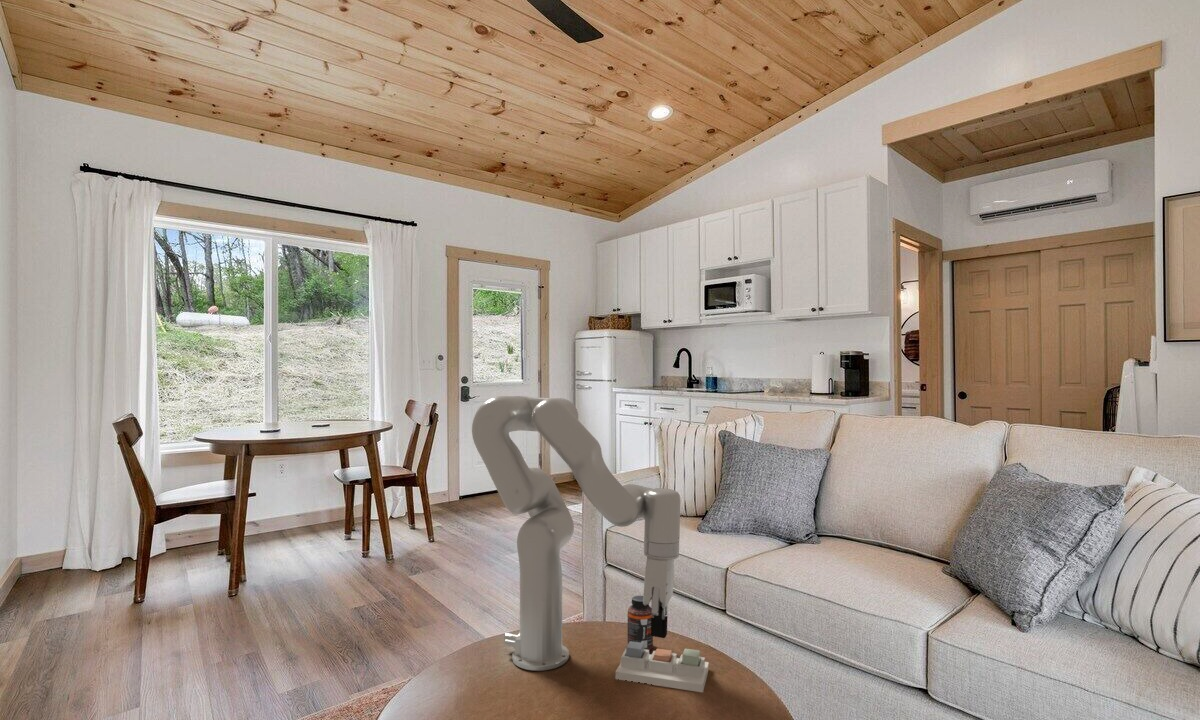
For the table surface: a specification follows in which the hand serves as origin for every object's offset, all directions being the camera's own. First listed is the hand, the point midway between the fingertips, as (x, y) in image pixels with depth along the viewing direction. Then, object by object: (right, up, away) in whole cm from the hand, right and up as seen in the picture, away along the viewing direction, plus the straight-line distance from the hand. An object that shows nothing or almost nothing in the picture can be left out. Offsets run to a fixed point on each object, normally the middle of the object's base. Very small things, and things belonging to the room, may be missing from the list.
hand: (658, 635), depth 122 cm
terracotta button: (+1, -6, -1) cm, 6 cm away
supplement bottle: (-3, -9, +12) cm, 15 cm away
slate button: (-5, -5, +1) cm, 7 cm away
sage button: (+7, -5, -2) cm, 8 cm away
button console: (+1, -8, -1) cm, 8 cm away
